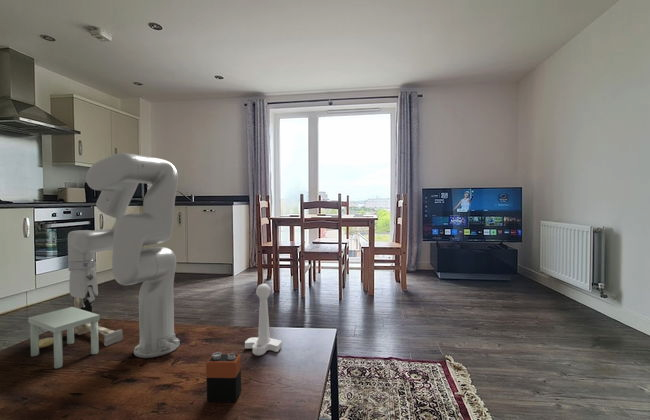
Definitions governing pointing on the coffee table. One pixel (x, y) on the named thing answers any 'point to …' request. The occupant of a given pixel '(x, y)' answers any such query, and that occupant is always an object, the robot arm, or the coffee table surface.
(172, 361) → the coffee table surface
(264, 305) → the joystick
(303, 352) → the coffee table surface
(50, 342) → the token
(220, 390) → the battery
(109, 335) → the hoe
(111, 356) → the coffee table surface
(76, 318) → the stand
